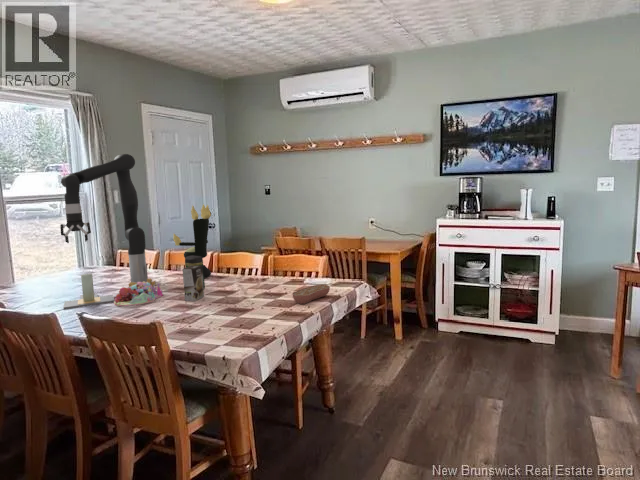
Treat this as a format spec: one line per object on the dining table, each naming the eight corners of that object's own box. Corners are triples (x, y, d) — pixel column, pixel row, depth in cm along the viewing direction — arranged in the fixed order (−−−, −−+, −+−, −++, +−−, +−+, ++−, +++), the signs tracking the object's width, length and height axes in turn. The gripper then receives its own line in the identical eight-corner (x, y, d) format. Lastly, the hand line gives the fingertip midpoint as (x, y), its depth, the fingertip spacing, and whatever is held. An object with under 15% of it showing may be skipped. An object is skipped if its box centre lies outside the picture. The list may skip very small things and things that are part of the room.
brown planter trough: (304, 307, 203) (303, 296, 202) (287, 304, 209) (286, 293, 208) (333, 295, 221) (333, 285, 220) (317, 293, 227) (317, 283, 226)
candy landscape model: (112, 297, 236) (111, 280, 235) (160, 290, 246) (158, 274, 245) (114, 308, 214) (112, 289, 213) (166, 301, 224) (164, 282, 223)
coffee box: (196, 301, 220) (193, 268, 218) (184, 301, 222) (181, 268, 220) (204, 296, 229) (202, 265, 227) (193, 296, 231) (190, 265, 228)
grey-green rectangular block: (94, 298, 229) (92, 273, 227) (94, 300, 224) (92, 275, 223) (83, 300, 226) (80, 274, 225) (83, 302, 222) (81, 276, 220)
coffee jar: (207, 288, 246) (205, 255, 243) (196, 291, 239) (193, 257, 237) (196, 286, 251) (193, 253, 249) (184, 289, 245) (181, 256, 243)
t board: (111, 292, 245) (111, 290, 245) (114, 302, 225) (113, 299, 225) (65, 299, 235) (65, 296, 235) (63, 309, 215) (63, 307, 215)
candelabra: (200, 272, 291) (195, 202, 285) (224, 275, 278) (219, 202, 272) (175, 278, 276) (169, 204, 270) (199, 282, 263) (193, 204, 257)
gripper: (58, 213, 235) (61, 244, 237) (88, 211, 241) (91, 241, 243) (58, 212, 241) (62, 242, 243) (88, 211, 248) (91, 240, 250)
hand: (77, 242), depth 243 cm, fingers open, 8 cm apart
